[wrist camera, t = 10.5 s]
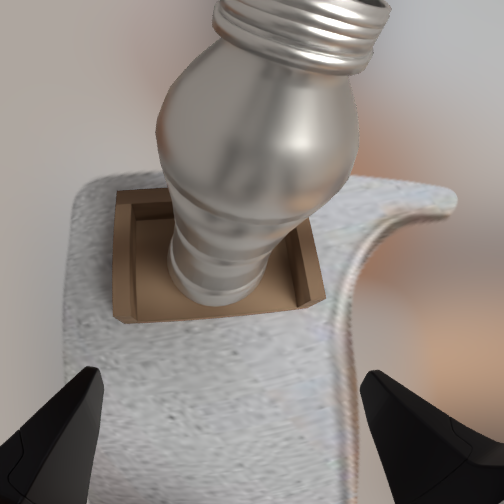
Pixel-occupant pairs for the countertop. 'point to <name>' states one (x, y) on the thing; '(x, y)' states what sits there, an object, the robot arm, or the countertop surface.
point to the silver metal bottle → (260, 134)
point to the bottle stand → (162, 286)
